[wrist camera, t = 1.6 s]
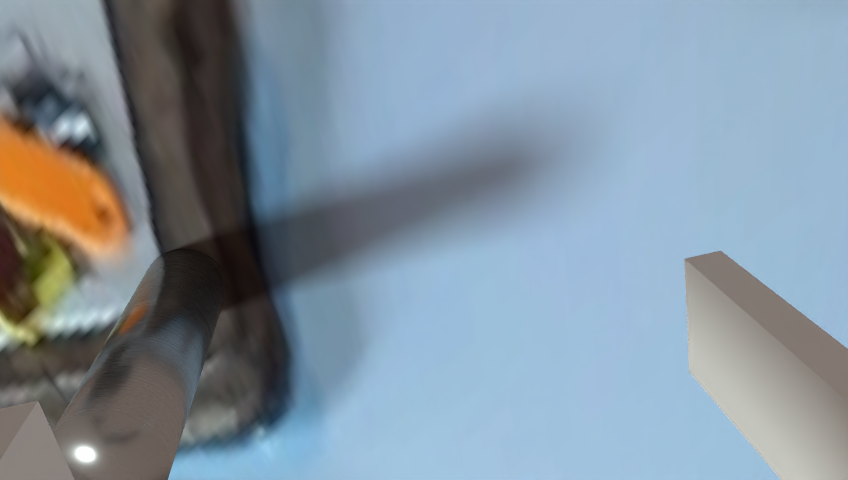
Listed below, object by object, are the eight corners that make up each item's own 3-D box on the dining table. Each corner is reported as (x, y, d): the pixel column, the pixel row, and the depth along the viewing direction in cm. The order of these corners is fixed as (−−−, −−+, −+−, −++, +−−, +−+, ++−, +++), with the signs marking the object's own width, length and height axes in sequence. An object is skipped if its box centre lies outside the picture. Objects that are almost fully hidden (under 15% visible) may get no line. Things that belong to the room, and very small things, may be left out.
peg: (143, 317, 37) (44, 509, 24) (146, 245, 36) (41, 407, 23) (223, 324, 38) (168, 514, 25) (229, 253, 37) (172, 416, 24)
